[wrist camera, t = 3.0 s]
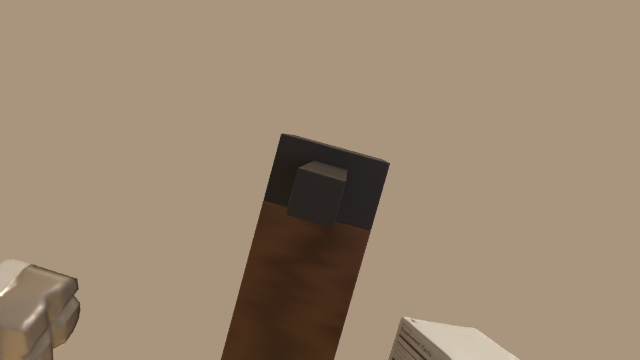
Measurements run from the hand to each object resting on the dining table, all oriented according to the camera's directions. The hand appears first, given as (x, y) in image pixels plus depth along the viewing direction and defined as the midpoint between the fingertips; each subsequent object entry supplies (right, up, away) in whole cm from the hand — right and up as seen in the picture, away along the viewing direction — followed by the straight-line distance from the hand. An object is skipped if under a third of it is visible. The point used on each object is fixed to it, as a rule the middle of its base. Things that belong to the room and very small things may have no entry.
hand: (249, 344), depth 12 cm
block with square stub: (+1, +1, +24) cm, 24 cm away
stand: (-5, -24, +32) cm, 40 cm away
